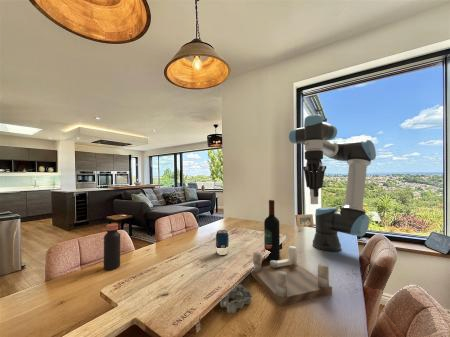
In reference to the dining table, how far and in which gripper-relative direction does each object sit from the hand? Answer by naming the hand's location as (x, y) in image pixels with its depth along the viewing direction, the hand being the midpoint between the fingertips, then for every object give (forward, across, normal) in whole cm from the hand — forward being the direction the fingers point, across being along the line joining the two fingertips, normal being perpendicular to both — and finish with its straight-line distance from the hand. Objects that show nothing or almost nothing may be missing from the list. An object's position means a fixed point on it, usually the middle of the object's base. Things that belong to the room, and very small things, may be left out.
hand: (314, 203), depth 90 cm
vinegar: (+31, -27, -89) cm, 98 cm away
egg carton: (+31, +11, -40) cm, 51 cm away
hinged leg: (+27, -5, -12) cm, 31 cm away
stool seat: (+30, +4, -16) cm, 35 cm away
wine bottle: (+31, -18, -12) cm, 37 cm away
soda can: (+31, -31, -35) cm, 56 cm away
